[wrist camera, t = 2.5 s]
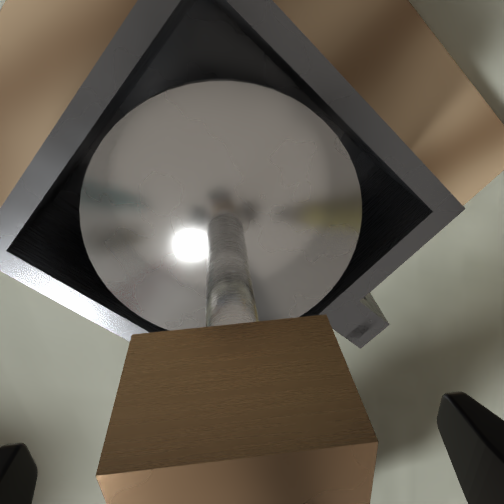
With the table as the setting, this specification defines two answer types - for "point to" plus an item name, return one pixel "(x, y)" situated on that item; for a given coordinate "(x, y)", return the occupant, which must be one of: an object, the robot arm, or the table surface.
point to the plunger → (228, 300)
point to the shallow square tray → (200, 68)
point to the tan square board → (314, 28)
